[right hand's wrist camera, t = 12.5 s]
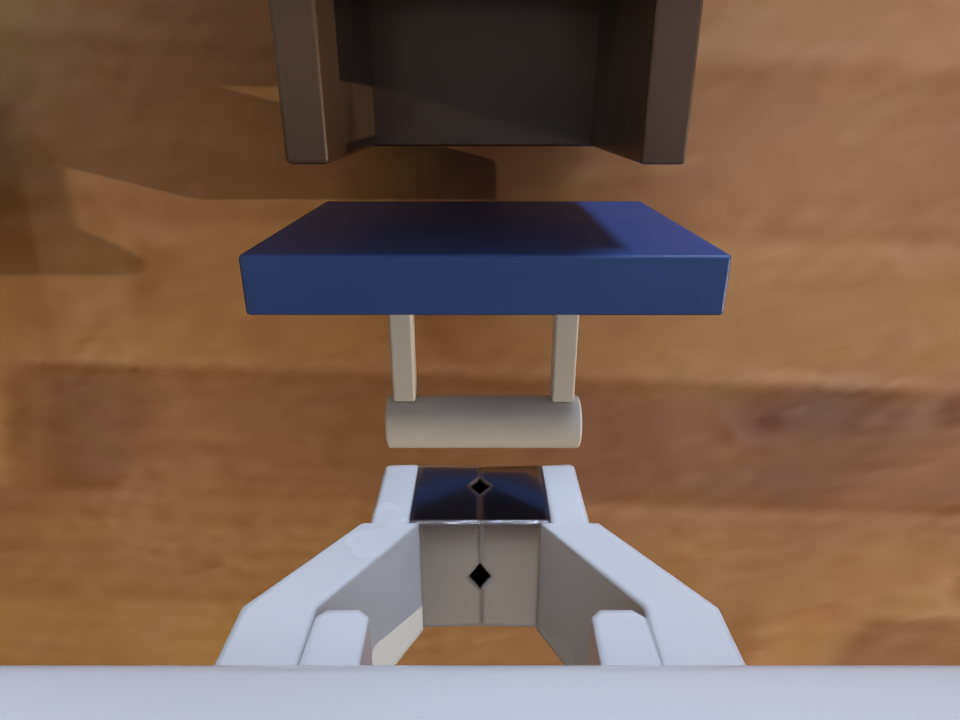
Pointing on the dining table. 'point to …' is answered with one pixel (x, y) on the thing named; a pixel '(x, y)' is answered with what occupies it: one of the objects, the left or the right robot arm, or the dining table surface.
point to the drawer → (485, 225)
